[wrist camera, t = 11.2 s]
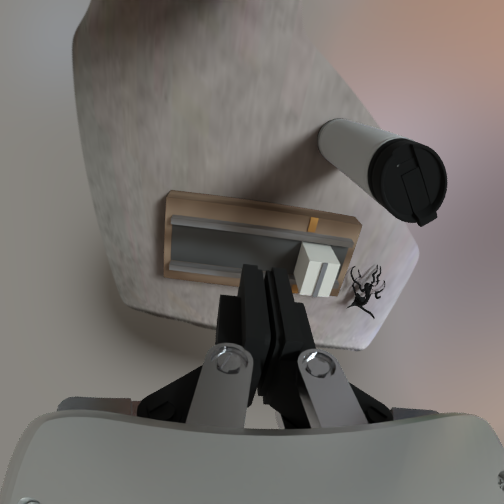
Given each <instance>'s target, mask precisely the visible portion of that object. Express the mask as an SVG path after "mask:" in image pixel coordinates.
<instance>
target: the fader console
mask: <svg viewBox="0 0 504 504" xmlns="http://www.w3.org/2000/svg"><path fill="white" fill-rule="evenodd" d="M361 228H362V225H361V223H360V222H359V221H358V220H357V219H356V217H353V216H347V215H342V214H336V213H330V212H325V211H319V210H313V209H307V208H300V207H294V206H288V205H281V204H275V203H268V202H261V201H254V200H247V199H240V198H232V197H225V196H217V195H209V194H201V193H192V192H184V191H174V190H171V191H170V193H169V194H168V196H167V197H166V212H165V235H164V277H166V278H173V279H181V280H188V281H196V282H204V283H212V284H221V285H229V286H238V287H239V284H240V278H241V273H242V267H243V264H250V265H257V266H258V269H260V270H263V277H265V272H266V270H269V271H271V268H272V267H275V268H283V269H286V270H287V273H288V277H289V281H290V285H291V289H292V293H299V291H298V287H297V283H296V280H295V276H294V270H295V266H296V263H297V259H298V255H299V251H300V248H301V244H302V241H303V242H310V243H317V244H324V245H330V246H331V248H332V250H333V252H334V253H335V255H336V257H337V259H338V261H339V263H340V267H339V270H338V273H337V276H336V279H335V281H334V284H333V287H332V290H331V292H330V295H329V296H338V293H339V291H340V288H341V285H342V283H343V280H344V277H345V274H346V272H347V269H348V266H349V263H350V261H351V258H352V255H353V252H354V249H355V246H356V243H357V240H358V237H359V234H360V231H361Z"/></svg>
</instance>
